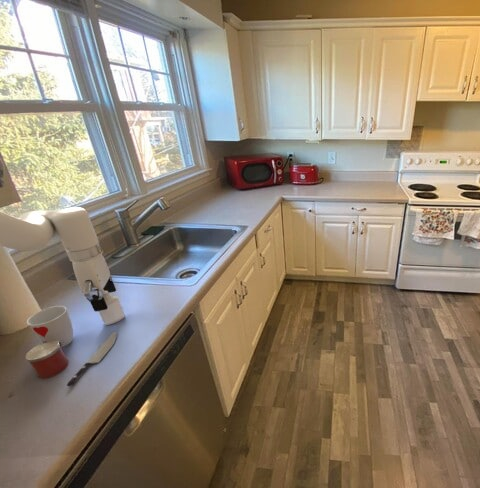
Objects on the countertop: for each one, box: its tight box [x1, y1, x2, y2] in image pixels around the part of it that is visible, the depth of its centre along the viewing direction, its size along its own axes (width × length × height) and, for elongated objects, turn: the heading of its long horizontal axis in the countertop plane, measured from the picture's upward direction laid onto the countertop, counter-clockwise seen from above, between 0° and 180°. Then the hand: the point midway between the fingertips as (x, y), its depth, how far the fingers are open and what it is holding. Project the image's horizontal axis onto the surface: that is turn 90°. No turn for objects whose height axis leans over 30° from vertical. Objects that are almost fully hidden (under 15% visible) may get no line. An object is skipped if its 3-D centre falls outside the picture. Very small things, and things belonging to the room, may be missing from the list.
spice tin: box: [25, 341, 69, 379], centre depth 72 cm, size 6×6×7 cm
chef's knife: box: [66, 331, 117, 387], centre depth 76 cm, size 19×1×3 cm
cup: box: [26, 305, 74, 348], centre depth 79 cm, size 8×8×10 cm
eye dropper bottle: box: [97, 289, 126, 326], centre depth 87 cm, size 4×6×12 cm
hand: (106, 300), depth 86 cm, fingers open, 9 cm apart
